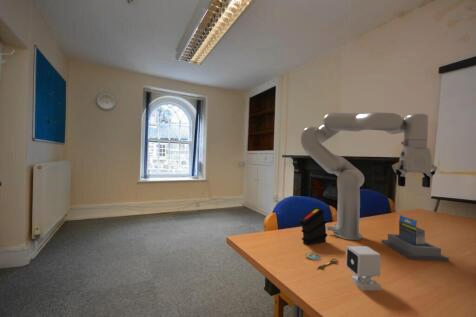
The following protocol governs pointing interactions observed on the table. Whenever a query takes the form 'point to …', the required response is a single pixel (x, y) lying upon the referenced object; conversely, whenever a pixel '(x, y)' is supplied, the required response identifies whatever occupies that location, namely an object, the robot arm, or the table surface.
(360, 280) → the security camera
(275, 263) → the table surface
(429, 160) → the robot arm
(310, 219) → the black ridged block
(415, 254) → the slot holder
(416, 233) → the label tape box
